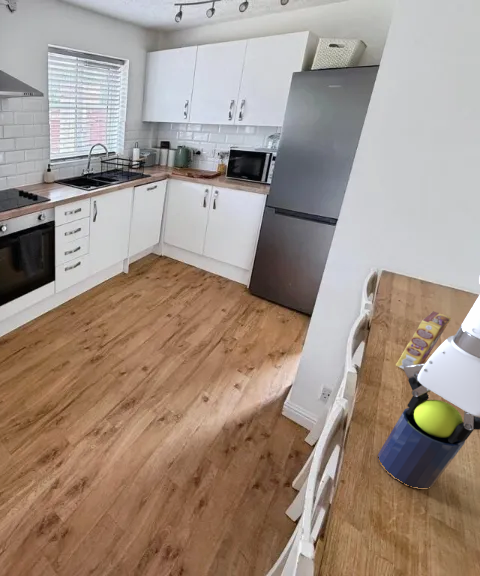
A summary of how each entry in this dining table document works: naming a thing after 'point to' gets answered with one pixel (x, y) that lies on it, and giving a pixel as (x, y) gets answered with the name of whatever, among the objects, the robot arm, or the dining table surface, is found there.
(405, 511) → the dining table surface
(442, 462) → the blue round container
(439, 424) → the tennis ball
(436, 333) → the candy box
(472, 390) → the robot arm
